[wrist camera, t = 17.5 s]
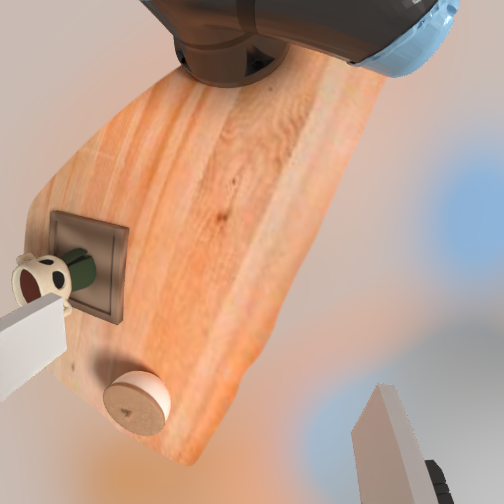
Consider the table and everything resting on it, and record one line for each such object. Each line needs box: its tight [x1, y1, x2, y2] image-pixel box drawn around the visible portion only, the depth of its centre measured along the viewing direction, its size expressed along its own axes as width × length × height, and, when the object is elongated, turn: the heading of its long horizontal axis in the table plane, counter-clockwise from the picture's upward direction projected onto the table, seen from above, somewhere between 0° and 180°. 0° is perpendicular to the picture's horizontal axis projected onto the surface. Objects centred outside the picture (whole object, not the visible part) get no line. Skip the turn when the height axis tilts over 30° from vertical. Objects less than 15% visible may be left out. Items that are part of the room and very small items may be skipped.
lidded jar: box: [103, 371, 171, 436], centre depth 42 cm, size 11×11×9 cm
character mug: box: [12, 248, 96, 317], centre depth 36 cm, size 11×7×13 cm, turn 45°
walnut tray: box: [49, 211, 129, 325], centre depth 42 cm, size 15×15×2 cm
